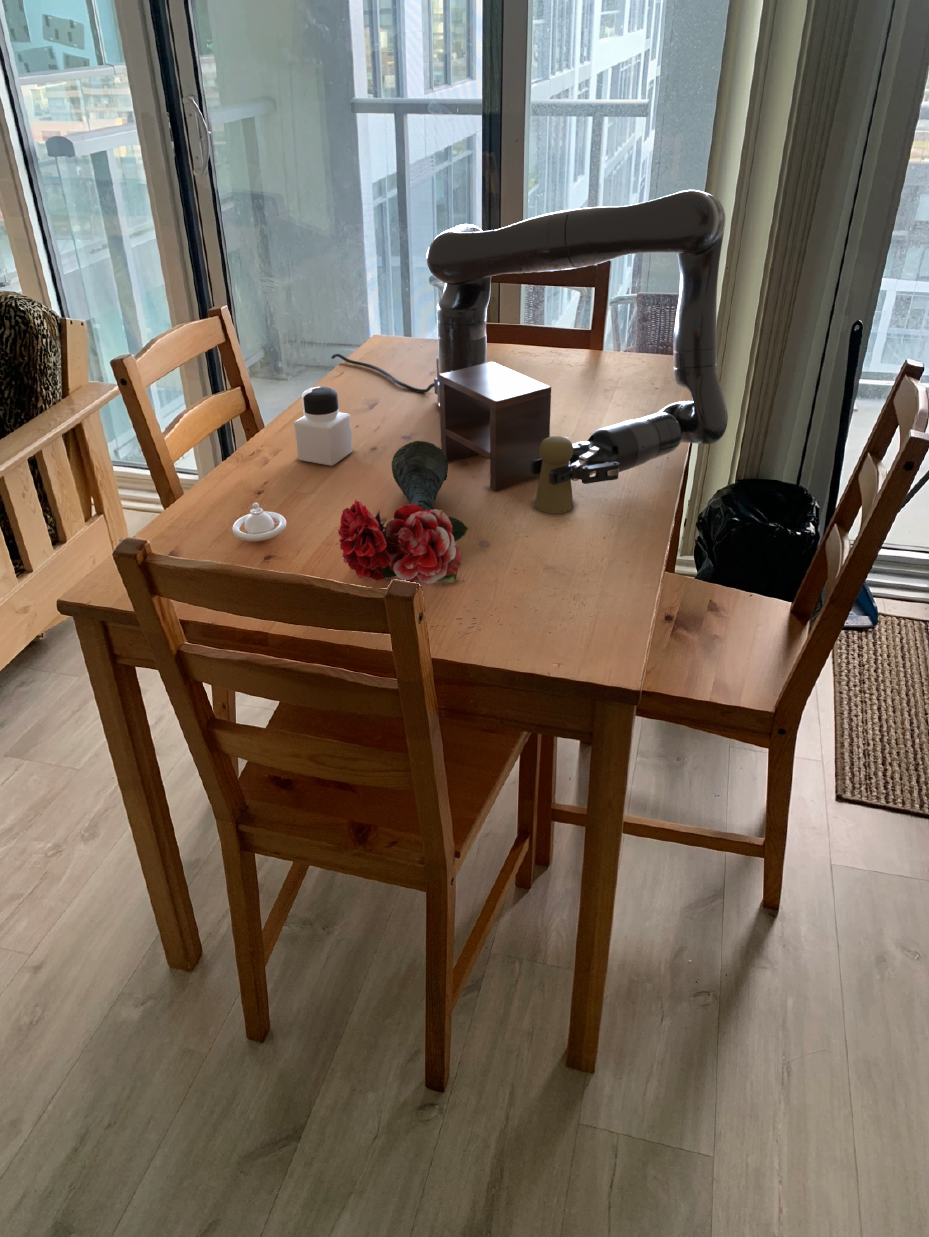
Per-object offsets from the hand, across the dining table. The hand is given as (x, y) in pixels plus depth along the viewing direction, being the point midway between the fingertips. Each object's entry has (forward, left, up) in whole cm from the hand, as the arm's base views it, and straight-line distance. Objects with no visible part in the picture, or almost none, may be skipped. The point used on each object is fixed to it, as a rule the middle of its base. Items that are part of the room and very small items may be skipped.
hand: (541, 473), depth 143 cm
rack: (-18, +4, -6) cm, 19 cm away
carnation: (-3, -23, -6) cm, 24 cm away
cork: (0, +3, -6) cm, 7 cm away
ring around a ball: (-18, -39, -6) cm, 44 cm away
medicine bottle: (-39, -17, -6) cm, 43 cm away
